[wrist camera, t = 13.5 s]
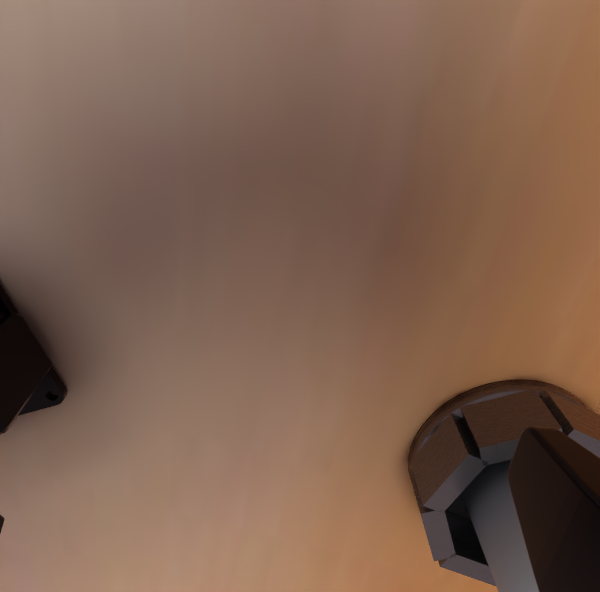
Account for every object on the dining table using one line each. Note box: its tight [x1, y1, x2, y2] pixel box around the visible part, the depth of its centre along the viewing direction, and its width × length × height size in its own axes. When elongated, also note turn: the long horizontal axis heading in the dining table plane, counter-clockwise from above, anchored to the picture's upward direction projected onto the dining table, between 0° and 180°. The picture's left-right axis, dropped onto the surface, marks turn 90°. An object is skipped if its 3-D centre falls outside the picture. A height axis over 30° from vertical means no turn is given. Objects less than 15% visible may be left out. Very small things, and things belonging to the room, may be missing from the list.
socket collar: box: [408, 380, 600, 586], centre depth 24 cm, size 9×9×4 cm
